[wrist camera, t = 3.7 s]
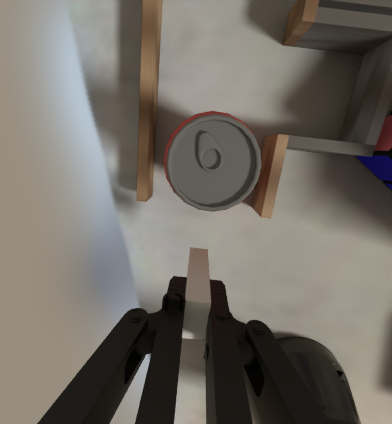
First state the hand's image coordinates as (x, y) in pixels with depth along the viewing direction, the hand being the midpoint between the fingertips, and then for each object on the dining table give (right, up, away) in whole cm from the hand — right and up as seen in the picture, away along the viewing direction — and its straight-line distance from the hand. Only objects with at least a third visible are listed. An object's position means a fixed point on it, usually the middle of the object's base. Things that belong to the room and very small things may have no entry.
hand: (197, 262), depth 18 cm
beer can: (+1, +10, +6) cm, 12 cm away
